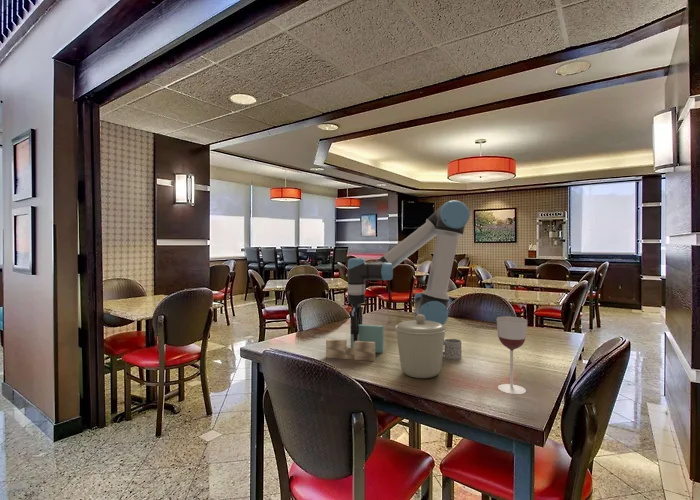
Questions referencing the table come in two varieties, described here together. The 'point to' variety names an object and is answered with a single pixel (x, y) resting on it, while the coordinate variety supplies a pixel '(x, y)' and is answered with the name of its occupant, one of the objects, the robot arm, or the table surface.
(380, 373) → the table surface
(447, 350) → the mug
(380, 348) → the teal slotted plate
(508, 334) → the wineglass
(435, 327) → the canister
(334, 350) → the birch notched board
